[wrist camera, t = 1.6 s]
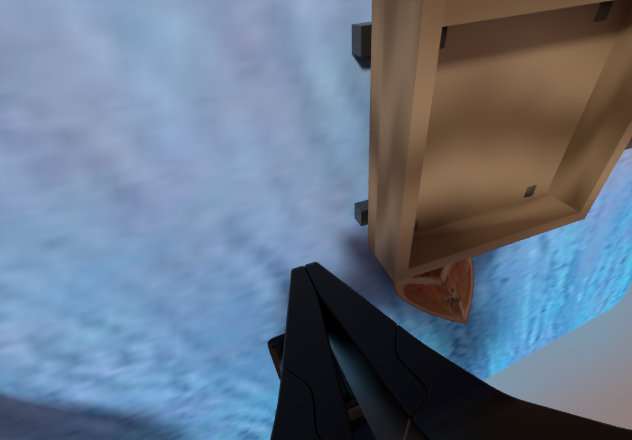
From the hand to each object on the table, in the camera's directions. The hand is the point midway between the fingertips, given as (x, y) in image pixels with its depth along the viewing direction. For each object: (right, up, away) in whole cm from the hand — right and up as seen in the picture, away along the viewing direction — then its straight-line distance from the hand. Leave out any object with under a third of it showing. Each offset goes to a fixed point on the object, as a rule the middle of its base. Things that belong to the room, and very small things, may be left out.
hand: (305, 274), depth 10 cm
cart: (+9, +8, +8) cm, 15 cm away
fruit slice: (+9, -1, +16) cm, 19 cm away
